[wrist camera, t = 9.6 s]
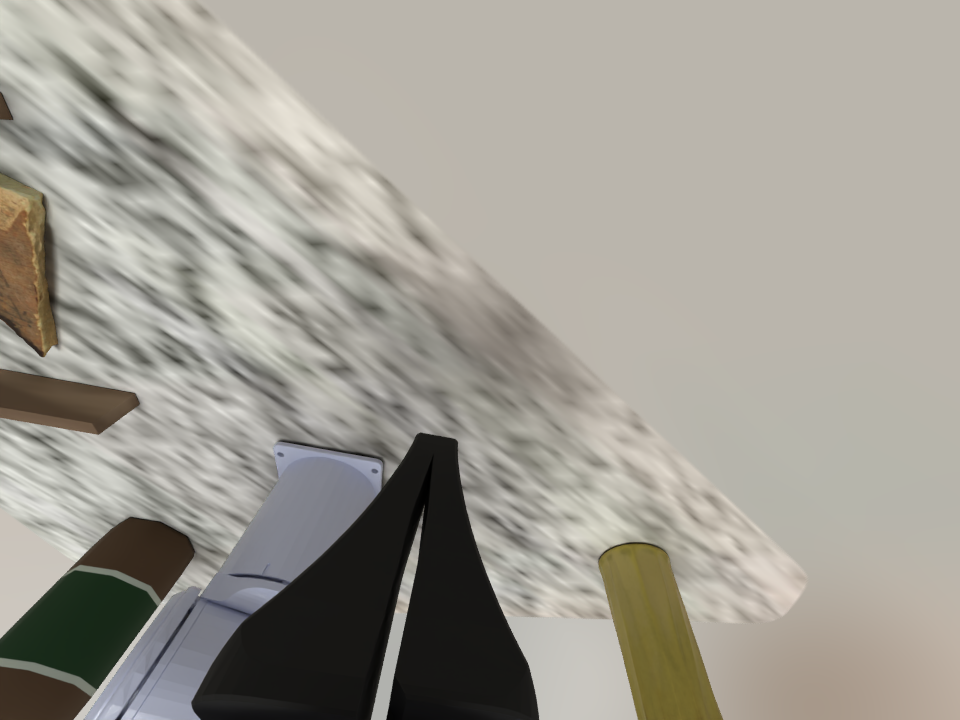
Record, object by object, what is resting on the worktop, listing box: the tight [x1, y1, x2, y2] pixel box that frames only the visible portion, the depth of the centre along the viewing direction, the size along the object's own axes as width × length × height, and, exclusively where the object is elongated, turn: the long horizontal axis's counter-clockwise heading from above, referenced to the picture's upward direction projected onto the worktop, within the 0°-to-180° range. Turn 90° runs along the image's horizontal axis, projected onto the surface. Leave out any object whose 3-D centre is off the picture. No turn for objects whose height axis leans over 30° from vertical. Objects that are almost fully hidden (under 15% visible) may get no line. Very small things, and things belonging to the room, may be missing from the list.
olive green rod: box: [599, 544, 723, 720], centre depth 26 cm, size 6×6×14 cm
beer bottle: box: [0, 518, 194, 720], centre depth 25 cm, size 8×8×24 cm
